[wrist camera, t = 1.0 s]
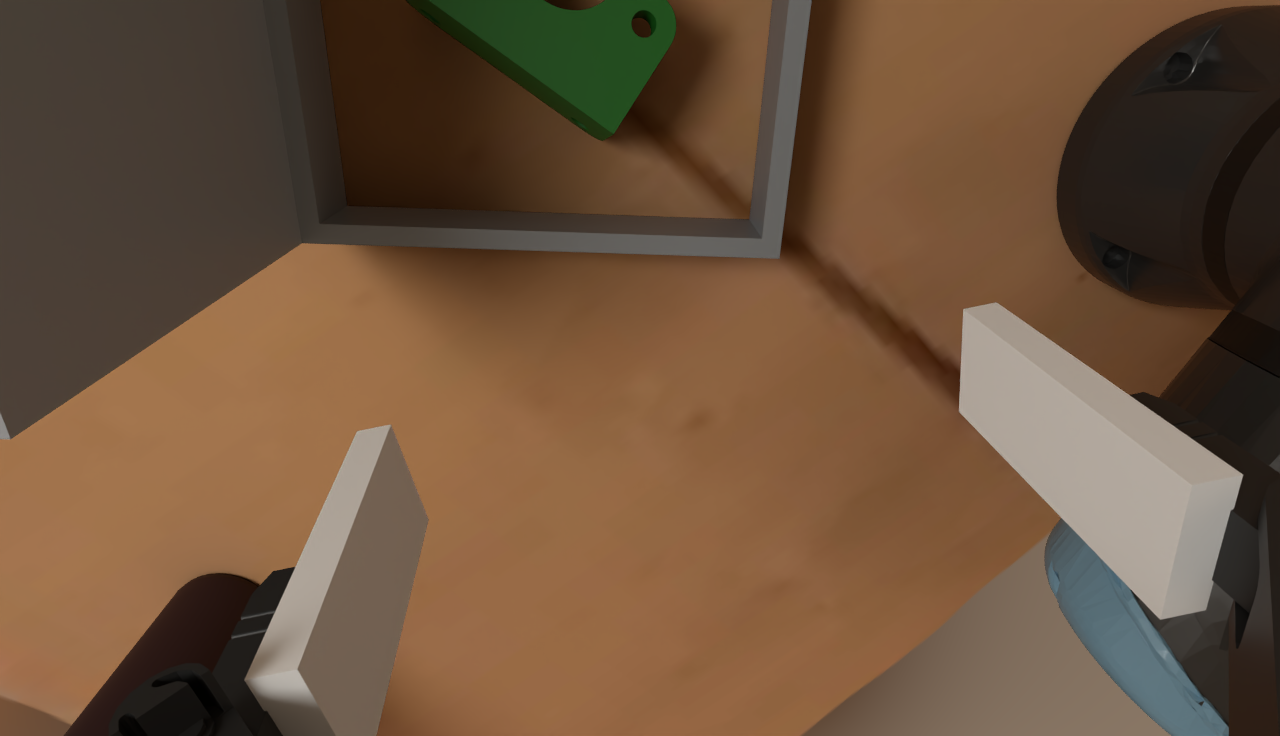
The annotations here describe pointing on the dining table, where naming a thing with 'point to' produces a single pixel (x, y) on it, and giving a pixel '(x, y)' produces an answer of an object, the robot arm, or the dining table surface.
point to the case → (237, 177)
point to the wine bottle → (172, 643)
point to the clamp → (564, 50)
